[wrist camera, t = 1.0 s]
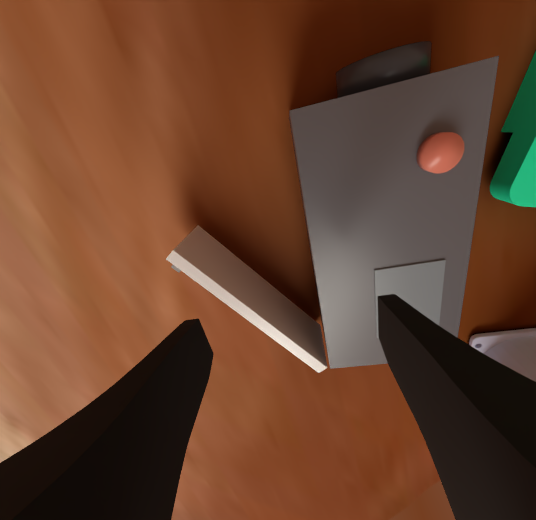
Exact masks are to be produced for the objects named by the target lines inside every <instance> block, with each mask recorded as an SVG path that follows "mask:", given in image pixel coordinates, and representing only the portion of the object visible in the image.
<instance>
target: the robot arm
mask: <svg viewBox="0 0 536 520" xmlns="http://www.w3.org/2000/svg"><path fill="white" fill-rule="evenodd" d="M378 337H379V340H380V343H381V346H382V349H383V351H384V354H385V357H386V360H387V362H388V364H389V366H390V369H391V371H392V373H393V375H394V377H395V379H396V381H397V383H398V385H399V387H400V389H401V391H402V393H403V395H404V397H405V399H406V401H407V403H408V405H409V407H410V409H411V411H412V413H413V415H414V417H415V419H416V421H417V423H418V425H419V428H420V430H421V432H422V434H423V437H424V439H425V441H426V444H427V446H428V449H429V451H430V454H431V456H432V459H433V461H434V464H435V467H436V469H437V472H438V474H439V477H440V479H441V482H442V485H443V487H444V490H445V493H446V495H447V498H448V501H449V503H450V506H451V508H452V511H453V514H454V516H455V519H456V520H536V328H530V329H520V330H511V331H501V332H491V333H482V334H475V335H473V336H471V338H470V342H469V345H468V344H467V343H465V342H464V341H462V340H460V339H459V338H457V337H456V336H454V335H452V334H451V333H449V332H448V331H446V330H445V329H443V328H442V327H440V326H439V325H437V324H436V323H434V322H433V321H432V320H430V319H429V318H427V317H426V316H425V315H423V314H422V313H420V312H419V311H418V310H416V309H415V308H413V307H412V306H411V305H409V304H408V303H407V302H405V301H404V300H403V299H401V298H400V297H398V296H397V295H396V294H390V295H382V296H378ZM212 359H213V352H212V349H211V347H210V344H209V342H208V340H207V337H206V335H205V333H204V330H203V328H202V325H201V323H200V321H199V319H193V320H185V321H184V322H183V323H182V324H180V325H179V326H178V327H177V328H176V329H175V330H174V331H173V332H172V333H170V334H169V335H168V336H167V337H166V338H165V339H164V340H163V341H162V342H161V343H160V344H159V345H158V346H157V347H156V348H155V349H153V350H152V351H151V352H150V353H149V354H148V355H147V356H146V357H145V358H144V359H143V360H142V361H140V362H139V363H138V364H137V365H136V366H135V367H134V368H132V369H131V370H130V371H129V372H128V373H127V374H126V375H125V376H123V377H122V378H121V379H120V380H119V381H118V382H116V383H115V384H114V385H113V386H112V387H110V388H109V389H108V390H107V391H105V392H104V393H103V394H101V395H100V396H99V397H98V398H96V399H95V400H94V401H92V402H91V403H90V404H88V405H87V406H86V407H84V408H83V409H82V410H80V411H79V412H77V413H76V414H75V415H73V416H72V417H70V418H69V419H67V420H66V421H64V422H63V423H62V424H60V425H59V426H57V427H56V428H54V429H53V430H52V431H50V432H49V433H47V434H46V435H44V436H43V437H41V438H39V439H38V440H36V441H35V442H33V443H32V444H30V445H29V446H27V447H25V448H24V449H22V450H21V451H19V452H17V453H16V454H14V455H13V456H11V457H9V458H8V459H6V460H4V461H3V462H1V463H0V520H171V517H172V512H173V507H174V503H175V498H176V493H177V488H178V483H179V479H180V474H181V470H182V466H183V461H184V457H185V453H186V449H187V445H188V442H189V438H190V435H191V432H192V429H193V426H194V423H195V420H196V417H197V414H198V410H199V407H200V404H201V401H202V398H203V395H204V392H205V389H206V386H207V383H208V379H209V375H210V370H211V365H212Z"/></svg>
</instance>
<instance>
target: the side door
mask: <svg viewBox="0 0 536 520" xmlns="http://www.w3.org/2000/svg"><path fill="white" fill-rule="evenodd" d="M166 260H168V261H169V262H170V263H172V264H173V265H172V268H173V269H175V270H176V271H177V272H180V271H182V272H184V273H185V274H186V275H188V276H189V277H191V278H192V279H193V280H195V281H196V282H197V283H199V284H200V285H201V286H203V287H204V288H205V289H207V290H208V291H209V292H211V293H212V294H213V295H215V296H216V297H217V298H219V299H220V300H221V301H223V302H224V303H225V304H227V305H228V306H229V307H231V308H232V309H233V310H235V311H236V312H238V313H239V314H240V315H242V316H243V317H244V318H246V319H247V320H248V321H250V322H251V323H252V324H254V325H255V326H256V327H258V328H259V329H260V330H262V331H263V332H264V333H266V334H267V335H268V336H270V337H271V338H272V339H274V340H275V341H276V342H278V343H279V344H280V345H282V346H283V347H285V348H286V349H287V350H289V351H290V352H291V353H293V354H294V355H295V356H297V357H298V358H299V359H301V360H302V361H303V362H305V363H306V364H307V365H309V366H310V367H311V368H313V369H314V370H315V371H317V372H318V373H320V372H321V371H323V370H324V369H326V368H327V363H326V357H325V351H324V345H323V339H322V333H321V327H320V324H318V323H317V322H316V321H315V320H313V319H312V318H311V317H310V316H309V315H307V314H306V313H305V312H304V311H302V310H301V309H300V308H299V307H298V306H296V305H295V304H294V303H293V302H291V301H290V300H289V299H288V298H287V297H285V296H284V295H283V294H282V293H280V292H279V291H278V290H277V289H276V288H274V287H273V286H272V285H271V284H270V283H268V282H267V281H266V280H265V279H263V278H262V277H261V276H260V275H259V274H257V273H256V272H255V271H254V270H252V269H251V268H250V267H249V266H248V265H246V264H245V263H244V262H243V261H241V260H240V259H239V258H238V257H237V256H235V255H234V254H233V253H232V252H230V251H229V250H228V249H227V248H226V247H224V246H223V245H222V244H221V243H219V242H218V241H217V240H216V239H215V238H213V237H212V236H211V235H210V234H208V233H207V232H206V231H205V230H204V229H202V228H201V227H200V226H199V225H198V226H197V227H196V228H195V229H194V230H193V231H192V232H191V233H190V234H189V235H188V236H187V237H186V238H185V239H184V240H183V241H182V242H181V243H180V244H179V245H178V246H177V247H176V248H175V249H174V250H173V251H172V252H171V253H170V255H169V256H168V257H167V258H166Z"/></svg>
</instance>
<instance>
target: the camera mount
mask: <svg viewBox="0 0 536 520" xmlns="http://www.w3.org/2000/svg"><path fill="white" fill-rule="evenodd" d="M501 132H510V133H513V134H512V136H511V138H510V141H509V143H508V145H507V147H506V149H505V152H504V154H503V156H502V158H501V161H500V163H499V165H498V167H497V170H496V172H495V174H494V176H493V178H492V181H491V183H490V192H491V194H492V196H493V197H494V198H496V199H499V200H502V201H505V202H508V203H512V204H515V205H518V206H525V207H536V51H535V54H534V56H533V58H532V61H531V63H530V65H529V68H528V70H527V72H526V75H525V77H524V79H523V82H522V84H521V86H520V89H519V91H518V93H517V96H516V98H515V100H514V103H513V105H512V107H511V110H510V112H509V114H508V117H507V119H506V121H505V124H504V126H503V128H502V131H501Z"/></svg>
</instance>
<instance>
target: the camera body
mask: <svg viewBox="0 0 536 520" xmlns="http://www.w3.org/2000/svg"><path fill="white" fill-rule="evenodd" d="M498 59H499V56H496V57H493V58H489V59H485V60H481V61H477V62H474V63H470V64H466V65H462V66H458V67H454V68H451V69H447V70H443V71H439V72H435V73H432V74H430V62H431V42H429V41H425V42H417V43H412V44H408V45H404V46H400V47H396V48H393V49H390V50H387V51H383V52H380V53H377V54H375V55H372V56H369V57H366V58H364V59H361V60H359V61H357V62H354V63H352V64H350V65H348V66H346V67H344V68H342V69H341V70H339V71H338V72H337V73H336V82H337V94H338V98H336V99H332V100H328V101H325V102H321V103H317V104H313V105H309V106H305V107H302V108H298V109H294V110H290V111H289V120H290V126H291V132H292V139H293V145H294V151H295V157H296V164H297V170H298V176H299V182H300V188H301V195H302V201H303V207H304V213H305V220H306V226H307V232H308V238H309V245H310V251H311V257H312V263H313V269H314V276H315V282H316V288H317V294H318V301H319V307H320V313H321V319H322V325H323V331H324V336H325V342H326V347H327V353H328V358H329V364H330V369H331V368H342V367H353V366H364V365H375V364H386V363H388V362H387V360H386V357H385V354H384V351H383V349H382V346H381V343H380V340H379V337H378V296H382V295H390V294H396V295H397V296H398V297H400V298H401V299H403V300H404V301H405V302H407V303H408V304H409V305H411V306H412V307H413V308H415V309H416V310H418V311H419V312H420V313H422V314H423V315H425V316H426V317H427V318H429V319H430V320H432V321H433V322H434V323H436V324H437V325H439V326H440V327H442V328H443V329H445V330H446V331H448V332H449V333H451V334H452V335H454V336H456V337H457V338H458V331H459V324H460V318H461V311H462V304H463V297H464V290H465V283H466V277H467V270H468V263H469V256H470V249H471V243H472V236H473V229H474V222H475V215H476V209H477V202H478V195H479V188H480V181H481V175H482V168H483V161H484V154H485V147H486V141H487V134H488V127H489V120H490V113H491V107H492V100H493V93H494V86H495V79H496V73H497V66H498Z"/></svg>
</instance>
